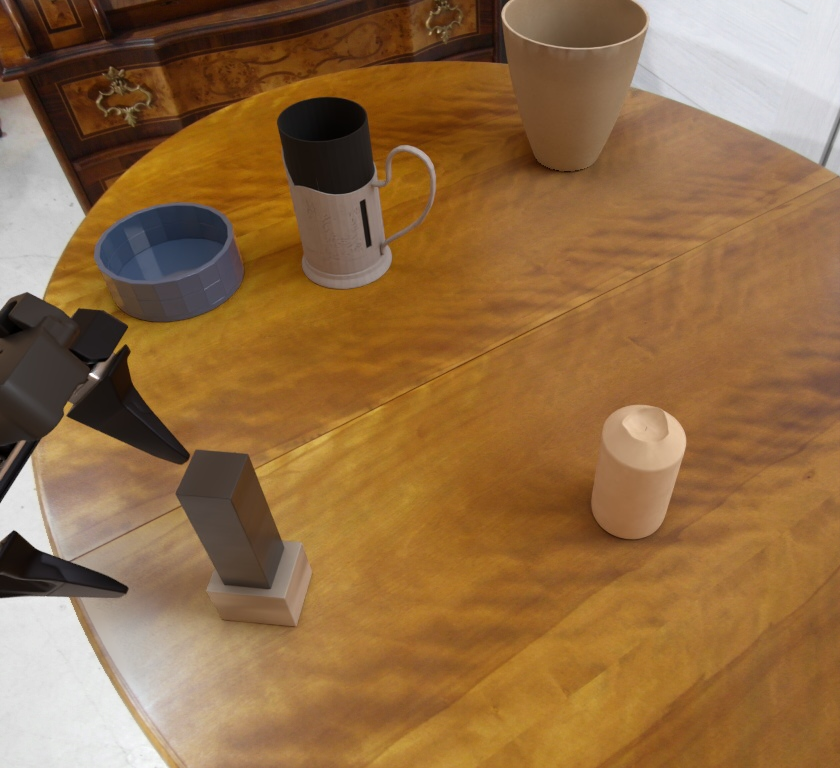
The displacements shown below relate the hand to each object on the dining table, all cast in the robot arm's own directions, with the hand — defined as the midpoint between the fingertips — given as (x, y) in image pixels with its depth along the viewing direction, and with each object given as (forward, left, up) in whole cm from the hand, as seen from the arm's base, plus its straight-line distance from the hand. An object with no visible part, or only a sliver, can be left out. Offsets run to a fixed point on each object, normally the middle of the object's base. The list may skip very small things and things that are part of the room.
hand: (157, 522), depth 46 cm
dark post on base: (+5, 0, -8) cm, 10 cm away
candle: (+30, +8, -8) cm, 32 cm away
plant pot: (+26, +56, -8) cm, 62 cm away
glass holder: (+7, +35, -8) cm, 36 cm away
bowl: (-11, +32, -8) cm, 35 cm away
